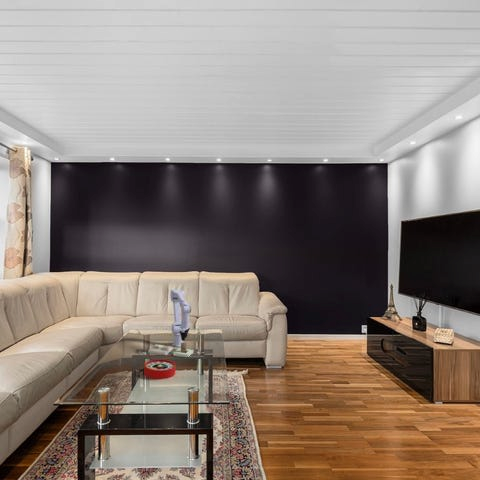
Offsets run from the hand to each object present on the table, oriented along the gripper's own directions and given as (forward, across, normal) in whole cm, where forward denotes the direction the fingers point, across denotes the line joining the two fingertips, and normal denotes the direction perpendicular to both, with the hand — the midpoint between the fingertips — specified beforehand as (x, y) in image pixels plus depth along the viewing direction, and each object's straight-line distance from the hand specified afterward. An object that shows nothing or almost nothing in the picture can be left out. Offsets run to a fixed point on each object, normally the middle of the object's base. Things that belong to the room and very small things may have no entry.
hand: (184, 339), depth 316 cm
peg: (+9, +6, +1) cm, 11 cm away
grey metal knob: (+9, +4, -21) cm, 23 cm away
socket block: (+9, +4, -17) cm, 19 cm away
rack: (+9, +6, +1) cm, 11 cm away
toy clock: (+10, +46, -6) cm, 48 cm away
